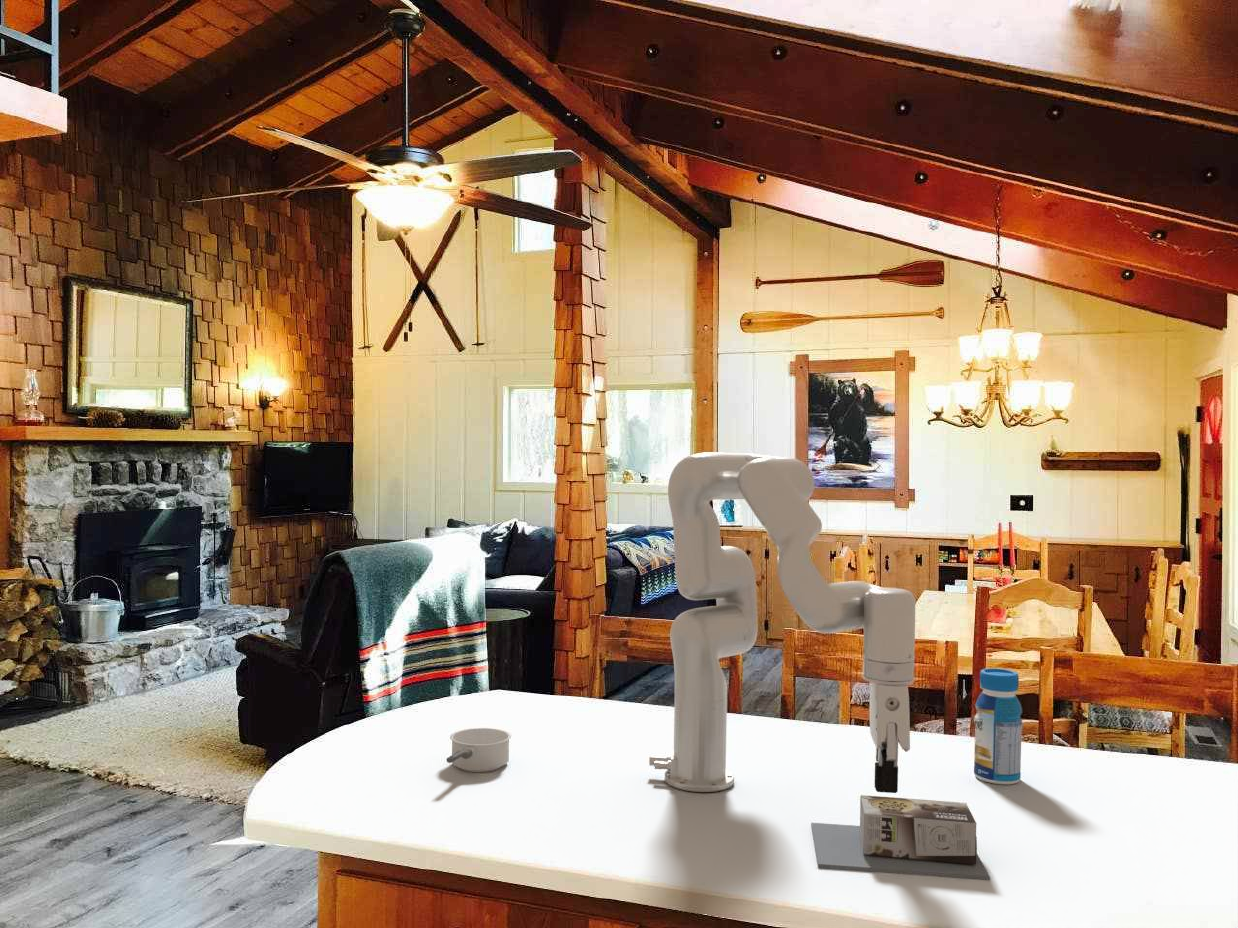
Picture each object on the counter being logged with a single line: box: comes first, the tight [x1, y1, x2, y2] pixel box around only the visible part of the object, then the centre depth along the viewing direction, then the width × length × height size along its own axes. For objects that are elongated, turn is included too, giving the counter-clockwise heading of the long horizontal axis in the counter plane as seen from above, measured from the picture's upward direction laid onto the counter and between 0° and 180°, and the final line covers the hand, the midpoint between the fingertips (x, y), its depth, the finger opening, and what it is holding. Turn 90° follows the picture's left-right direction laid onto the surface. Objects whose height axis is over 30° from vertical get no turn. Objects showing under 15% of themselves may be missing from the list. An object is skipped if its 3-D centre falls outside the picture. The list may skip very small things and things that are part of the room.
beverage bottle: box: [973, 667, 1024, 786], centre depth 183 cm, size 8×8×20 cm
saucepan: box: [446, 727, 512, 773], centre depth 181 cm, size 12×20×6 cm, turn 166°
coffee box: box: [859, 794, 978, 865], centre depth 148 cm, size 9×6×16 cm
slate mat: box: [810, 822, 991, 881], centre depth 148 cm, size 24×16×1 cm, turn 82°
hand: (885, 790), depth 148 cm, fingers closed
